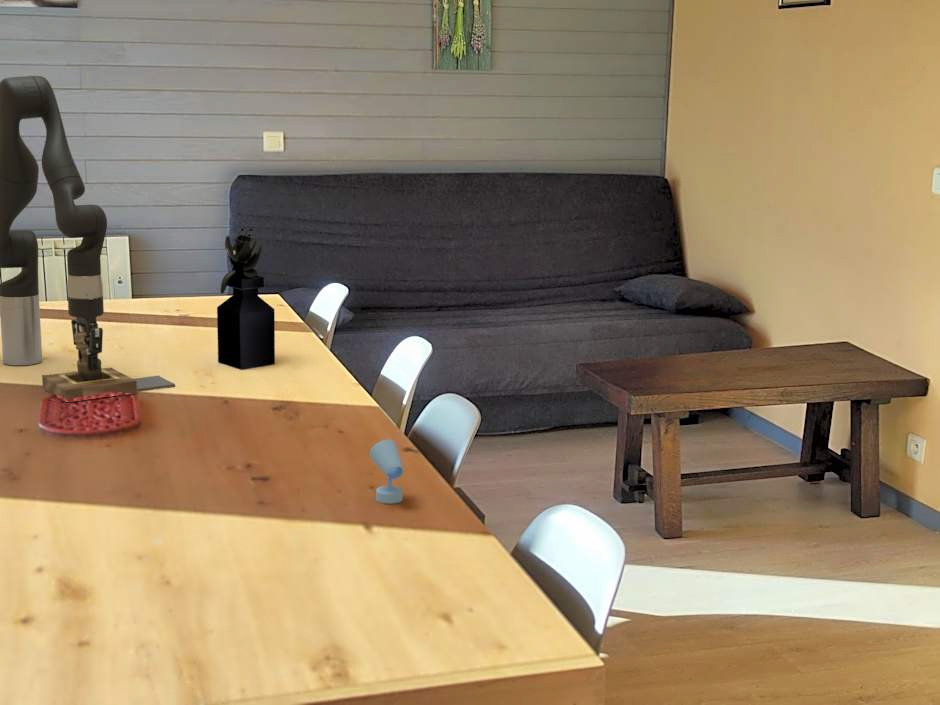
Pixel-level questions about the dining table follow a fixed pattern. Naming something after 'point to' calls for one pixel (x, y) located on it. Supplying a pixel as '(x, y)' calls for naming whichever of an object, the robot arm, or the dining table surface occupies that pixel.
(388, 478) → the spotlight
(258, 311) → the vase
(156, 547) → the dining table surface
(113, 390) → the socket block
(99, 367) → the tan ridged rounded piece
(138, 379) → the mat
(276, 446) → the dining table surface
